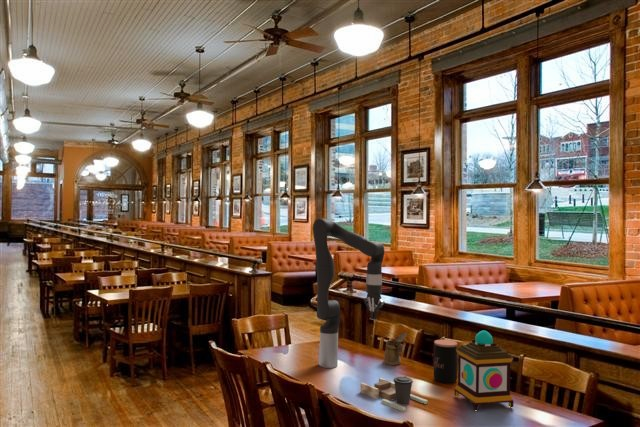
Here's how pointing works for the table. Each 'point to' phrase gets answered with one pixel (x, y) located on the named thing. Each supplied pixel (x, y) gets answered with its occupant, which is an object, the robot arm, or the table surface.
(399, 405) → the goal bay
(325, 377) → the table surface
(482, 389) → the decorative lantern
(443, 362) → the coffee jar
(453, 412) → the table surface
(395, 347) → the brown sack with scoop
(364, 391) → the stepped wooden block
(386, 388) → the pusher
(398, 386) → the coffee cup
